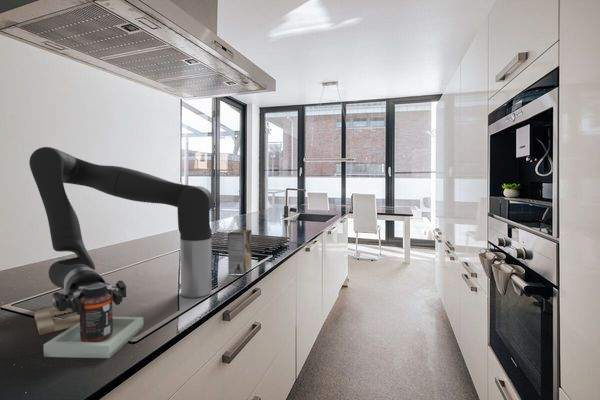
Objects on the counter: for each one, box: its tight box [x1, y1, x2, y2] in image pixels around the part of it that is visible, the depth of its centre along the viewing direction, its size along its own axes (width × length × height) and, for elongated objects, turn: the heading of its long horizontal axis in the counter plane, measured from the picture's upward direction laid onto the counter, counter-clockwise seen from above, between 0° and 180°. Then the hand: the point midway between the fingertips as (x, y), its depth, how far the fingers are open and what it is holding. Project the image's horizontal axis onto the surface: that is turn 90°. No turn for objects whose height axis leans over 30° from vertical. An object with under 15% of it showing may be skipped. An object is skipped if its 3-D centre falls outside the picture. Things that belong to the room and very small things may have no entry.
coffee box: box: [227, 229, 253, 276], centre depth 120 cm, size 9×6×16 cm
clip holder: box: [33, 306, 80, 336], centre depth 79 cm, size 13×13×2 cm
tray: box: [42, 316, 145, 359], centre depth 67 cm, size 13×13×2 cm
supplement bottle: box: [78, 283, 114, 342], centre depth 67 cm, size 6×6×11 cm
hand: (100, 304), depth 65 cm, fingers open, 6 cm apart
